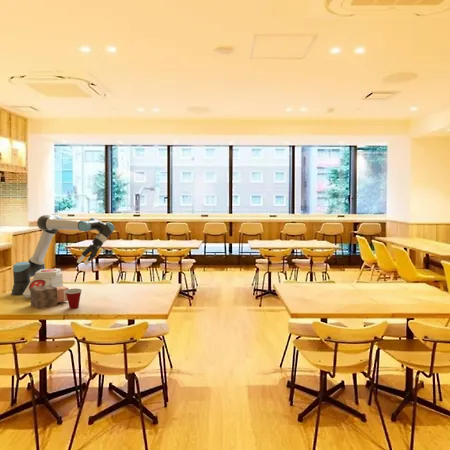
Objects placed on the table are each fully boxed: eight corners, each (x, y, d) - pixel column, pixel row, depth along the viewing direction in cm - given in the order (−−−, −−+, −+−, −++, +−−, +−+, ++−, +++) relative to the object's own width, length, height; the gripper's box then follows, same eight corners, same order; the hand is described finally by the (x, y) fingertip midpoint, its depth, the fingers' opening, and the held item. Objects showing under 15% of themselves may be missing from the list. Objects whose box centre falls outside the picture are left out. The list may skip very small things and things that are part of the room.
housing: (49, 301, 314) (49, 284, 313) (57, 305, 304) (56, 287, 303) (31, 305, 305) (30, 287, 304) (38, 308, 295) (37, 290, 294)
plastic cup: (64, 310, 291) (63, 292, 290) (66, 306, 302) (66, 288, 301) (81, 309, 293) (80, 291, 292) (83, 305, 304) (82, 288, 303)
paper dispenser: (20, 299, 321) (19, 275, 319) (45, 290, 350) (44, 268, 348) (43, 300, 316) (42, 276, 315) (67, 291, 346) (66, 268, 344)
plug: (63, 298, 318) (63, 285, 317) (68, 300, 311) (68, 287, 311) (46, 301, 310) (46, 288, 309) (51, 303, 303) (51, 290, 302)
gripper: (110, 244, 321) (92, 267, 313) (96, 243, 341) (79, 265, 332) (102, 237, 318) (84, 261, 309) (89, 237, 337) (71, 259, 329)
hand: (81, 263), depth 321 cm, fingers open, 13 cm apart
